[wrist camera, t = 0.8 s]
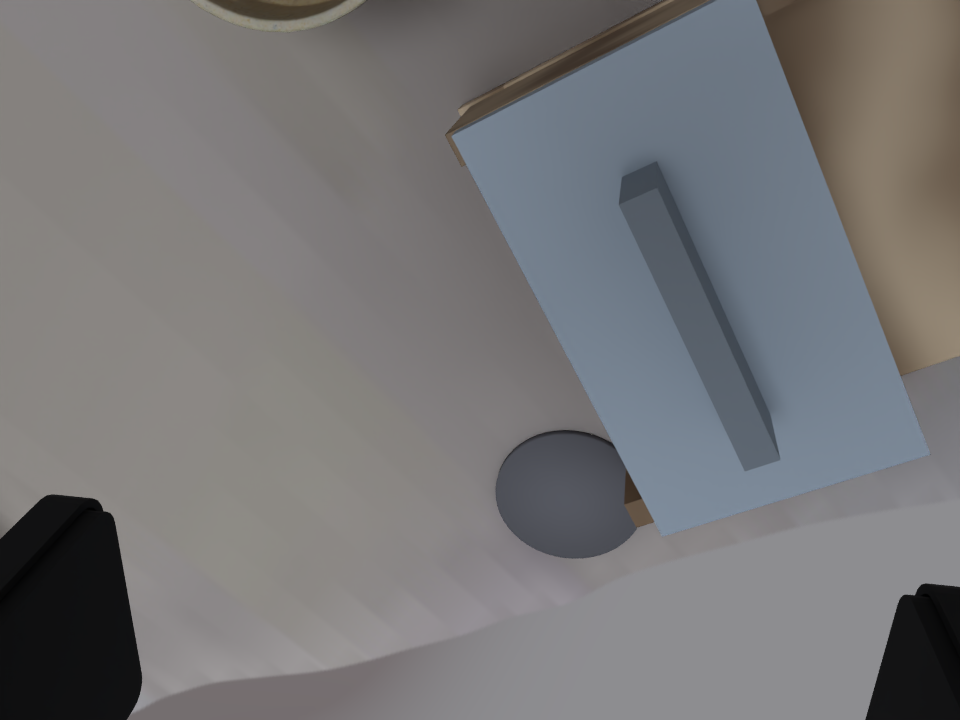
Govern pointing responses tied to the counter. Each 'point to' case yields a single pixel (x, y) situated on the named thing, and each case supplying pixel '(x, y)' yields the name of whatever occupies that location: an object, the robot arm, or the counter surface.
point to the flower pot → (279, 12)
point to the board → (851, 147)
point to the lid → (697, 269)
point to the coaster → (565, 494)
